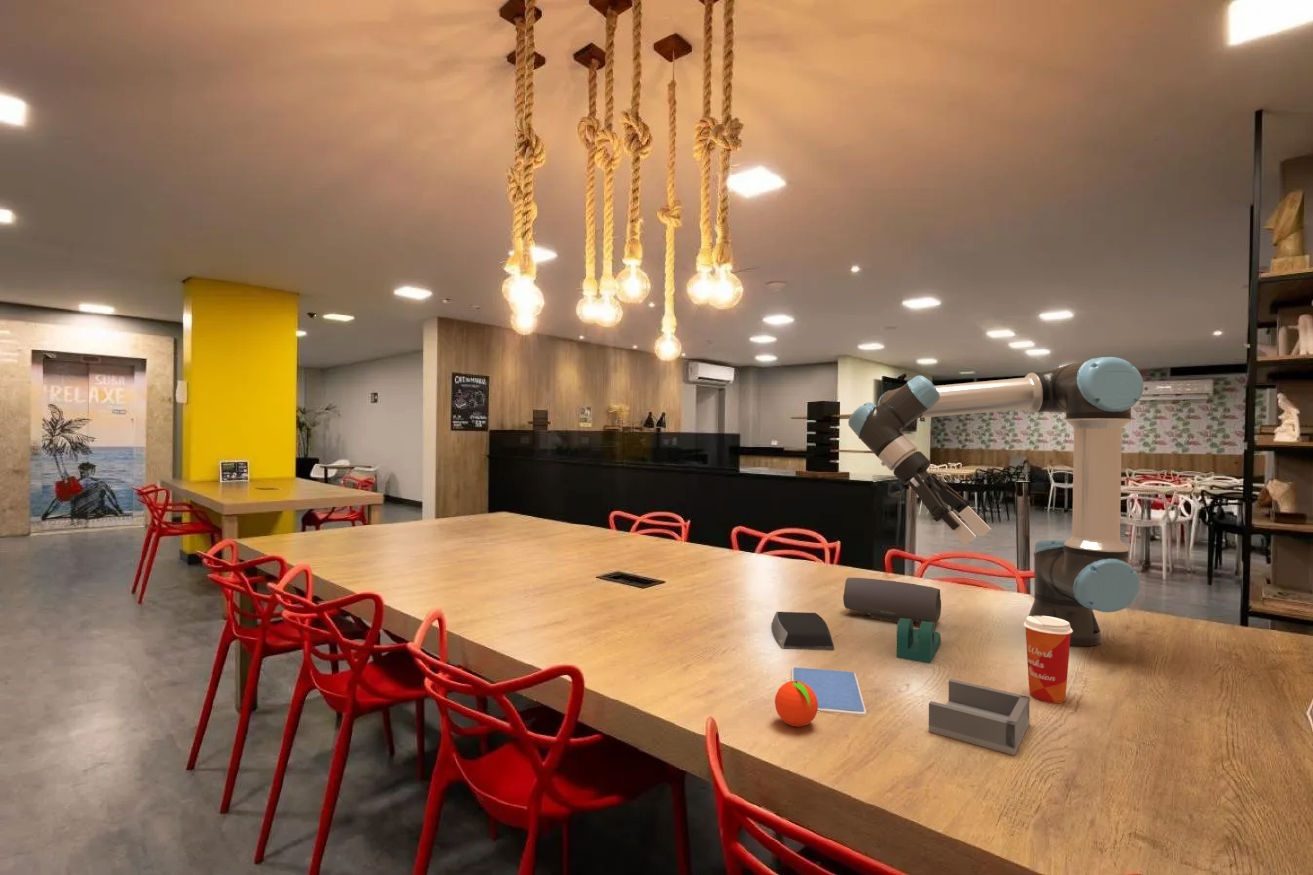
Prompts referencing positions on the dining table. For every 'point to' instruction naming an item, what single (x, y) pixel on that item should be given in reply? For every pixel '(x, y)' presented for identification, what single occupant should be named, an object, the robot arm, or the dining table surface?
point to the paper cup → (1047, 657)
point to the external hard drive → (801, 631)
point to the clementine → (796, 703)
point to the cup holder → (981, 716)
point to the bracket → (917, 641)
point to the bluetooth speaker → (892, 599)
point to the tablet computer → (833, 690)
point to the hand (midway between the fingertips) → (978, 537)
